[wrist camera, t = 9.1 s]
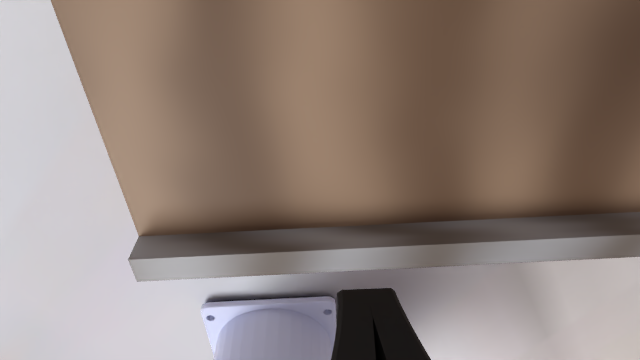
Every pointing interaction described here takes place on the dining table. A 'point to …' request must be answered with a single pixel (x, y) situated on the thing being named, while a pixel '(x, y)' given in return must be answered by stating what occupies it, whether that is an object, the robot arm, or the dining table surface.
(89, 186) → the dining table surface
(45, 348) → the dining table surface
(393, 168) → the slide box
